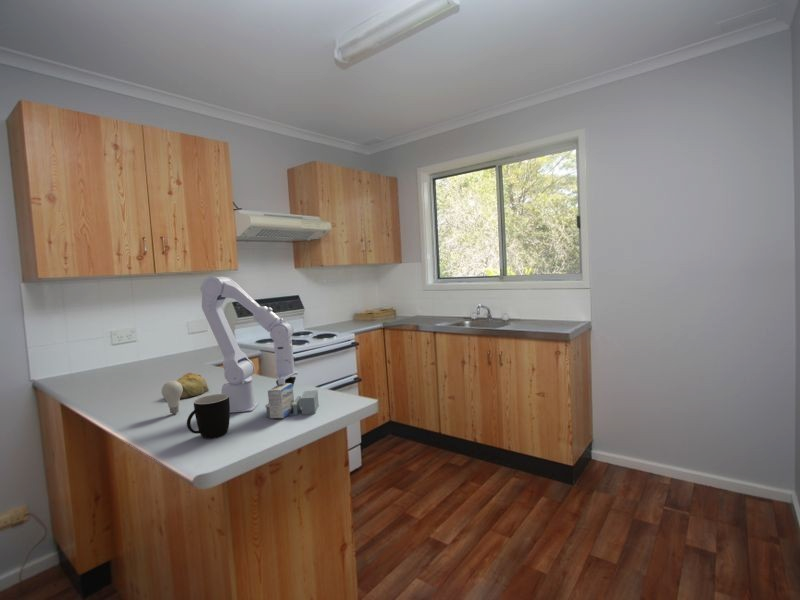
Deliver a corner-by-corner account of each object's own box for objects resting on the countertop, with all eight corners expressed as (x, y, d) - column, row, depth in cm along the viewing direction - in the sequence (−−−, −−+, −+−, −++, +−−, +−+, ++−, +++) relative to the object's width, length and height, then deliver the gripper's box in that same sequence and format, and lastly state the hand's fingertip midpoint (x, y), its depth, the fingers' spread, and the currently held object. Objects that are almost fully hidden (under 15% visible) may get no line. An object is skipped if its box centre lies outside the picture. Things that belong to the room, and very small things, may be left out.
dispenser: (266, 418, 128) (264, 402, 128) (273, 408, 137) (271, 393, 136) (314, 414, 129) (313, 398, 129) (318, 405, 138) (317, 390, 137)
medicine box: (283, 418, 126) (281, 390, 125) (269, 418, 127) (267, 390, 126) (295, 409, 133) (292, 382, 133) (282, 409, 134) (279, 382, 134)
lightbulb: (189, 411, 140) (186, 378, 139) (174, 417, 134) (170, 383, 133) (175, 410, 142) (171, 378, 141) (159, 416, 136) (156, 383, 135)
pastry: (210, 388, 170) (208, 368, 169) (207, 396, 158) (205, 375, 157) (170, 393, 165) (168, 373, 164) (164, 402, 153) (162, 380, 153)
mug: (218, 426, 124) (215, 392, 123) (239, 430, 119) (235, 395, 118) (179, 442, 113) (175, 405, 113) (200, 447, 109) (196, 409, 108)
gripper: (292, 363, 130) (296, 406, 131) (300, 354, 145) (303, 393, 146) (269, 365, 130) (273, 408, 131) (279, 355, 144) (283, 394, 145)
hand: (287, 400), depth 138 cm, fingers closed
